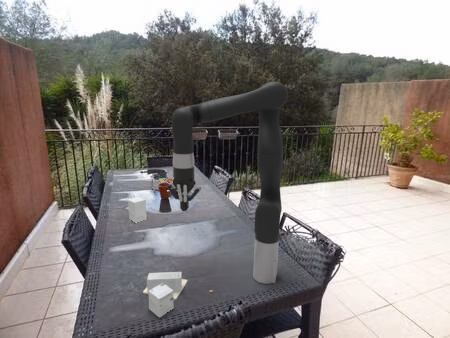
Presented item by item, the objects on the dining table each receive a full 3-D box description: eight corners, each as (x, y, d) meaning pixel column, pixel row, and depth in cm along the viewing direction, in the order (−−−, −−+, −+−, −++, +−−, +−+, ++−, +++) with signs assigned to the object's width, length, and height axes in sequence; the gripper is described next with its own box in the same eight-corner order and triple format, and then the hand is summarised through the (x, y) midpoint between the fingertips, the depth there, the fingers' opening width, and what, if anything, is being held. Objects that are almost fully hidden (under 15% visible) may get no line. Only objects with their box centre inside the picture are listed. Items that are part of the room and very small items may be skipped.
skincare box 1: (181, 271, 107) (148, 271, 106) (181, 278, 103) (146, 279, 102) (181, 285, 109) (149, 285, 107) (181, 293, 104) (147, 293, 103)
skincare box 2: (159, 318, 93) (158, 299, 91) (148, 309, 97) (147, 290, 95) (174, 308, 97) (173, 290, 95) (163, 300, 101) (162, 282, 99)
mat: (187, 281, 112) (187, 280, 111) (175, 300, 101) (175, 298, 101) (157, 275, 115) (157, 274, 115) (142, 293, 104) (142, 291, 104)
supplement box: (147, 220, 164) (146, 199, 161) (135, 224, 159) (134, 202, 156) (140, 216, 169) (139, 196, 166) (128, 220, 164) (127, 199, 161)
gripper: (204, 164, 103) (204, 208, 108) (171, 161, 107) (172, 204, 111) (197, 169, 96) (197, 216, 101) (161, 165, 100) (163, 212, 104)
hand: (184, 210), depth 106 cm, fingers closed
